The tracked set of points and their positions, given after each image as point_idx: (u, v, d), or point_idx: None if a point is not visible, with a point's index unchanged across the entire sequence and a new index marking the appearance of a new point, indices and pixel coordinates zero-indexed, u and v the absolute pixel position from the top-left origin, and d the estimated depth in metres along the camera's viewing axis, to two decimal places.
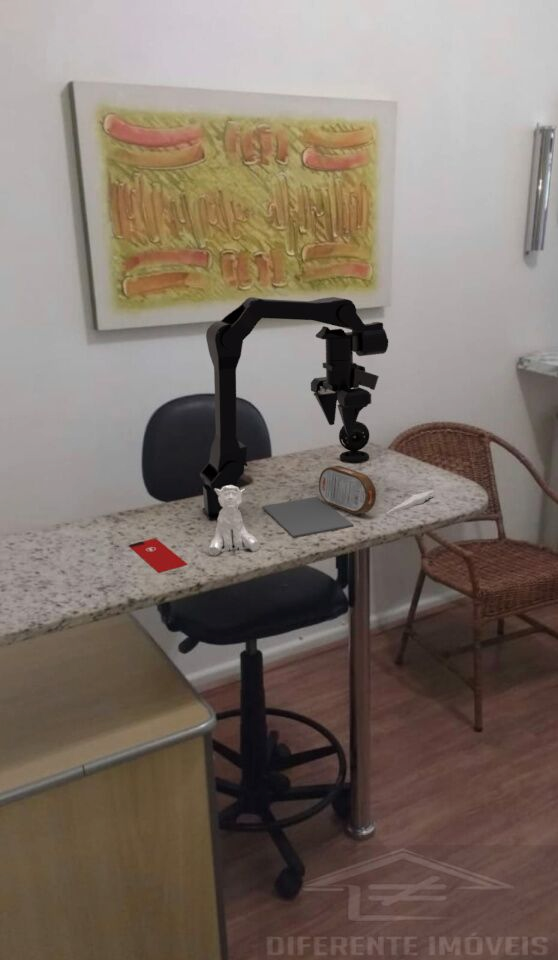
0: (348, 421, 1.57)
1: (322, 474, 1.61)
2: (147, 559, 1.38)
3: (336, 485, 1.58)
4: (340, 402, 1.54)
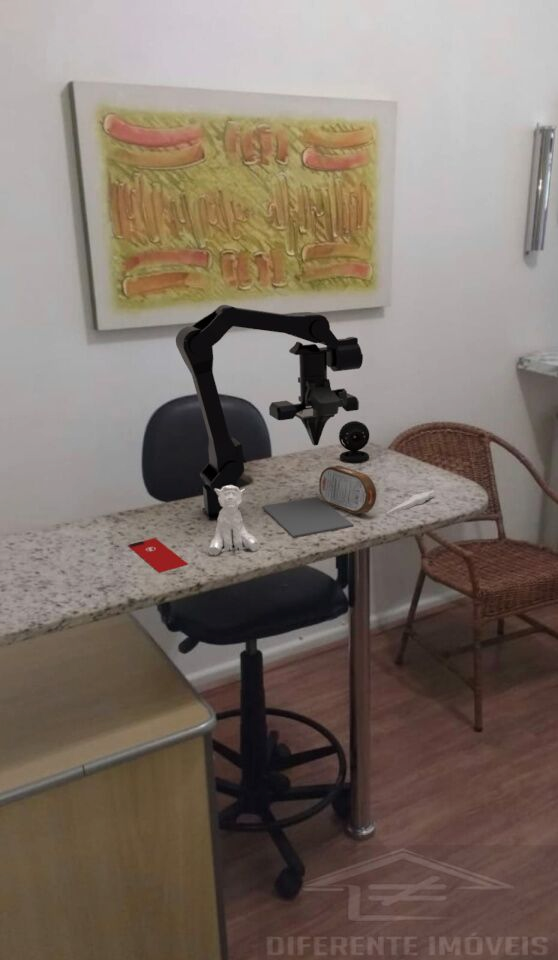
0: (307, 430, 1.62)
1: (323, 474, 1.61)
2: (147, 559, 1.38)
3: (336, 485, 1.58)
4: None
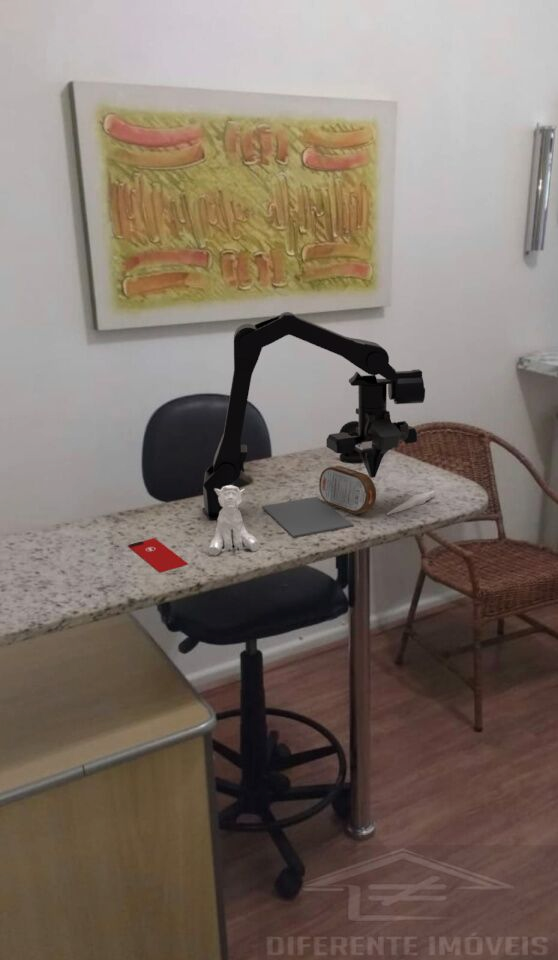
0: (365, 462, 1.58)
1: (323, 474, 1.61)
2: (147, 559, 1.38)
3: (336, 485, 1.58)
4: None
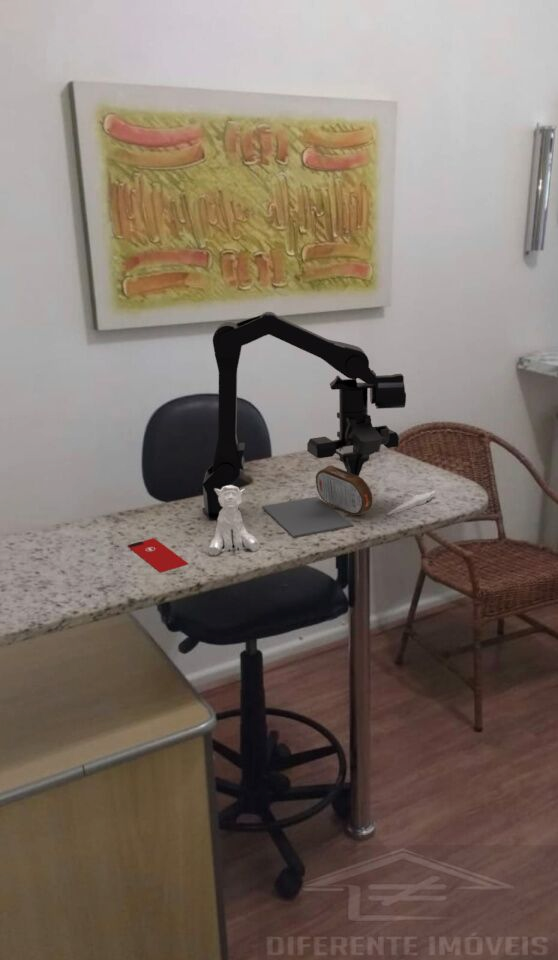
0: (346, 467, 1.56)
1: (318, 476, 1.59)
2: (147, 559, 1.38)
3: (332, 487, 1.57)
4: None
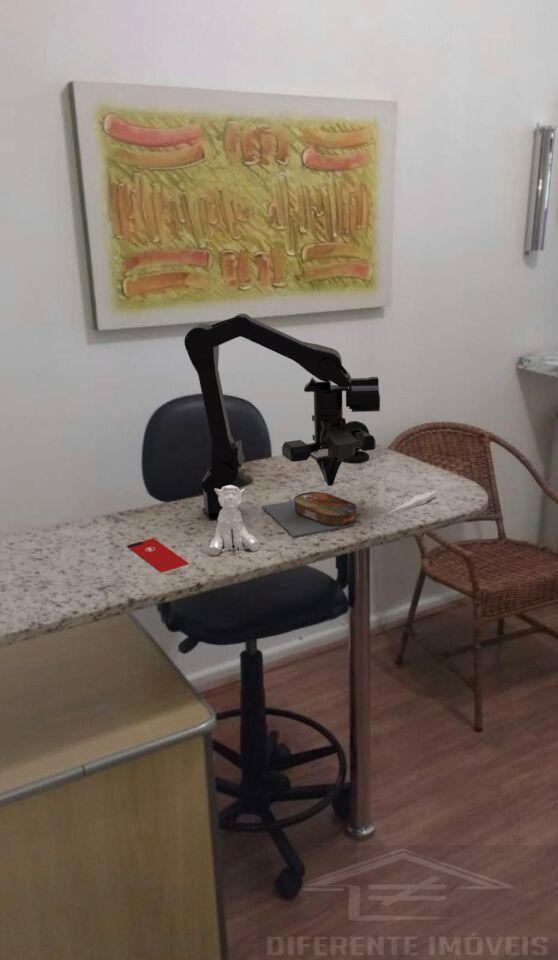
0: (322, 470, 1.54)
1: None
2: (147, 559, 1.38)
3: None
4: None
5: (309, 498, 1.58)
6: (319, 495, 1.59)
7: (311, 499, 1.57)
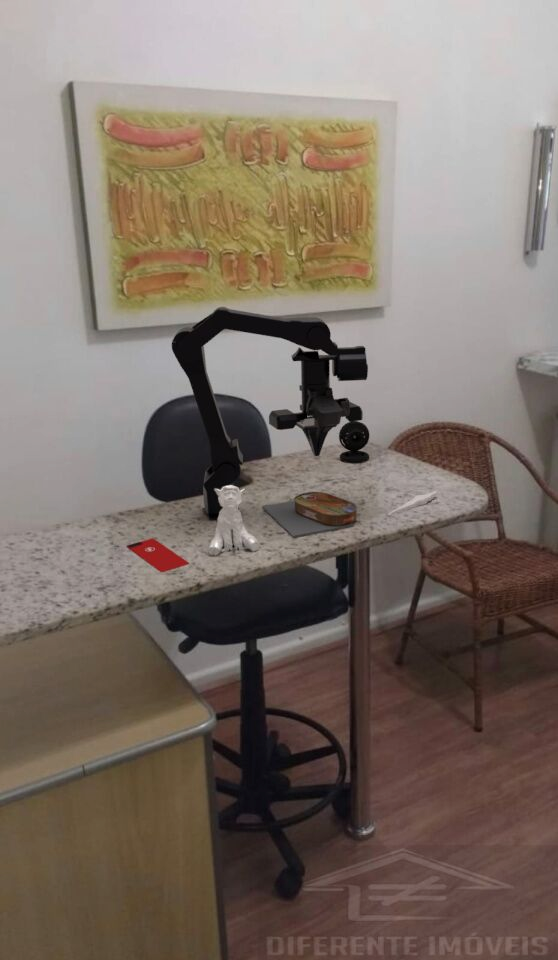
0: (309, 440, 1.55)
1: None
2: (148, 559, 1.38)
3: None
4: None
5: (309, 498, 1.58)
6: (319, 495, 1.59)
7: (311, 499, 1.57)
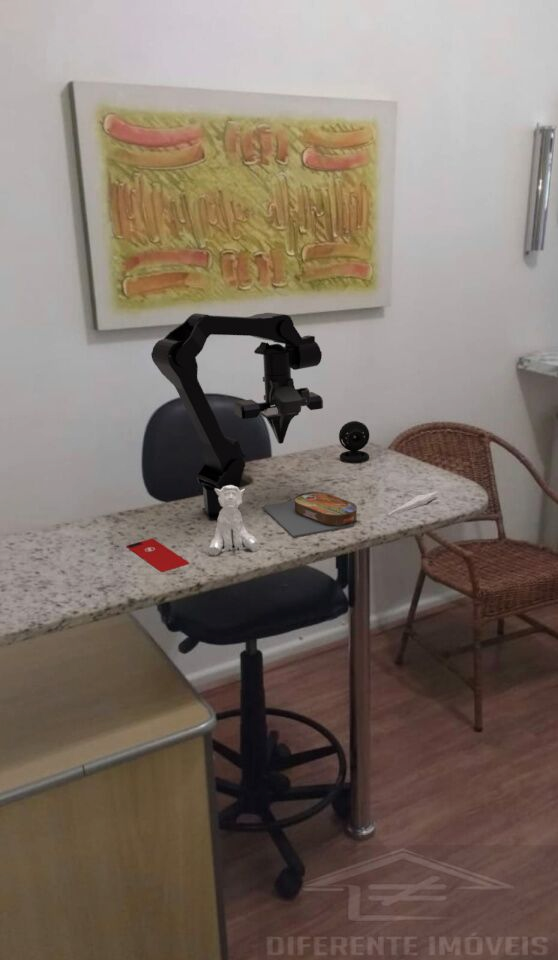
0: (273, 429, 1.64)
1: None
2: (148, 559, 1.38)
3: None
4: None
5: (309, 498, 1.58)
6: (319, 495, 1.59)
7: (311, 499, 1.57)
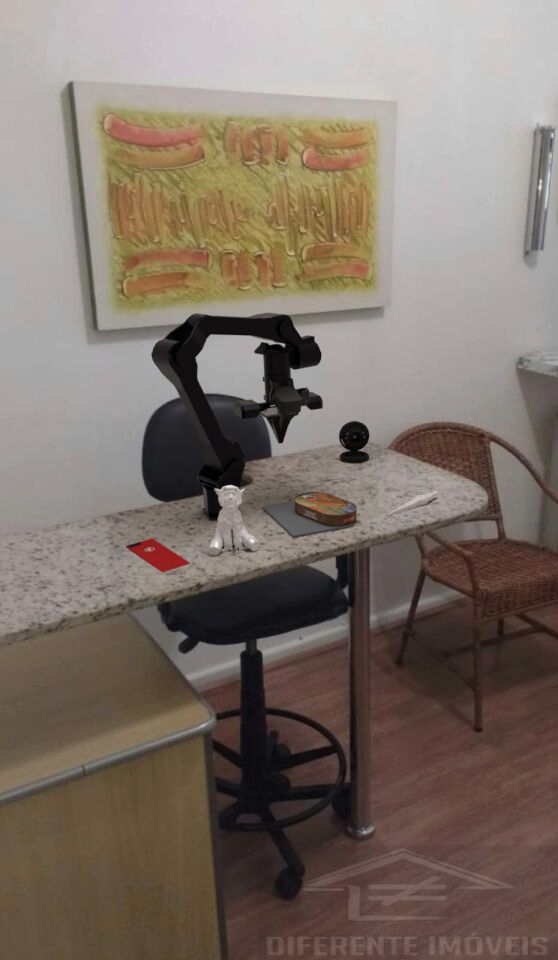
0: (272, 429, 1.64)
1: None
2: (148, 559, 1.38)
3: None
4: None
5: (309, 498, 1.58)
6: (319, 495, 1.59)
7: (311, 499, 1.57)
